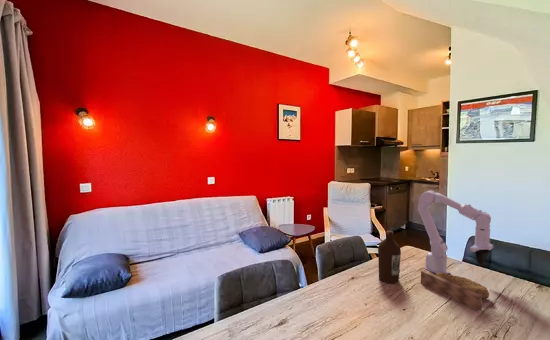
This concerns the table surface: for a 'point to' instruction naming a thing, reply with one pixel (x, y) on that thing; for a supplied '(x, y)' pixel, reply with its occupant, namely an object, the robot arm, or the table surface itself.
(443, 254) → the robot arm
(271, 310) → the table surface
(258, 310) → the table surface
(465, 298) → the walnut board
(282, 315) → the table surface
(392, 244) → the olive oil
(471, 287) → the brown oblong lump
